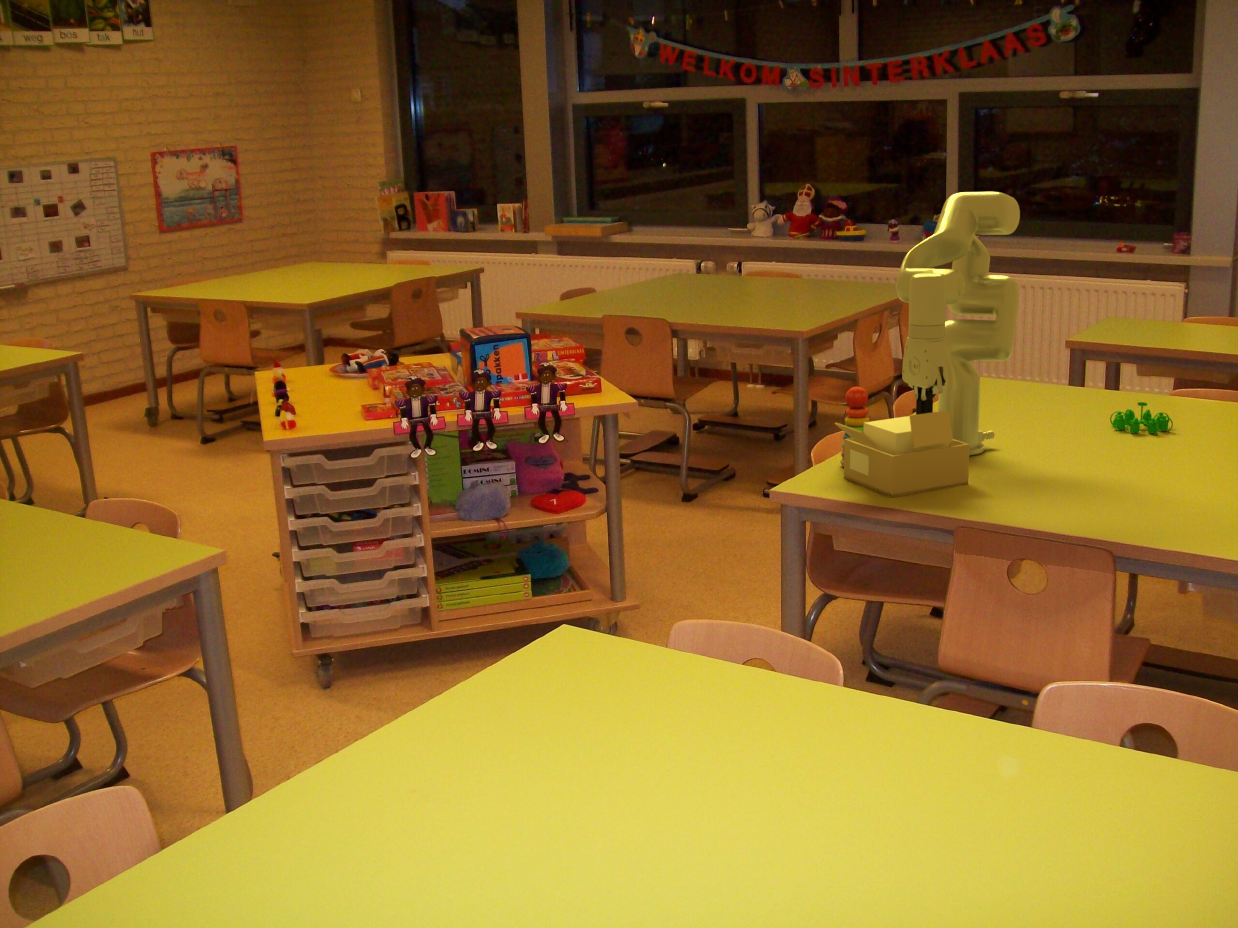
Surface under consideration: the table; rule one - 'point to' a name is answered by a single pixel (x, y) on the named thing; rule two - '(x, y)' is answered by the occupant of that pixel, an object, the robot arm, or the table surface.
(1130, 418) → the chandelier
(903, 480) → the carton
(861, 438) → the flap far
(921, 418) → the flap left
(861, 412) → the stacking toy
